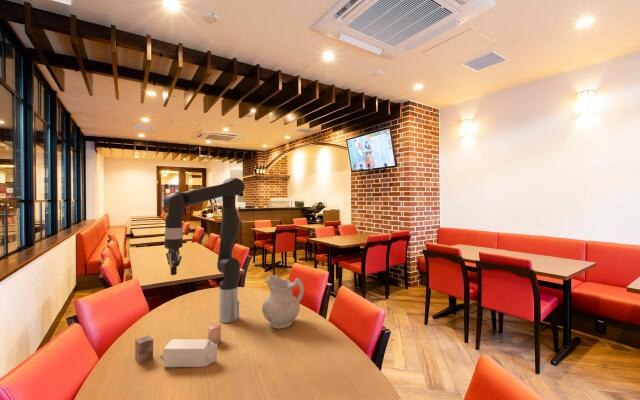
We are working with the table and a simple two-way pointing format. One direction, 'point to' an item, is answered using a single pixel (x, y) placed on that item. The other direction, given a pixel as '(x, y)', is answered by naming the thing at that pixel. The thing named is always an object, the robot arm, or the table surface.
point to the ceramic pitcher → (282, 302)
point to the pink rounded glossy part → (214, 333)
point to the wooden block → (143, 349)
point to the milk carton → (189, 353)
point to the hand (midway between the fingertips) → (173, 274)
